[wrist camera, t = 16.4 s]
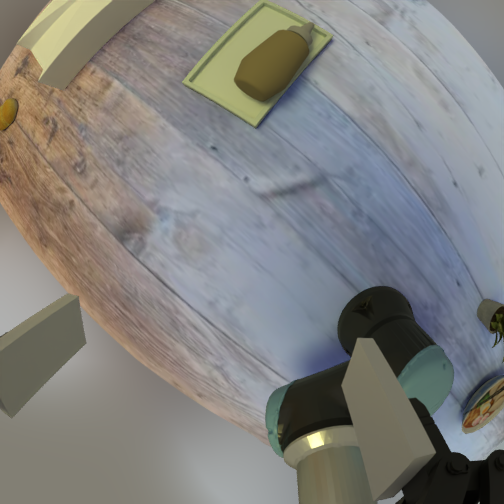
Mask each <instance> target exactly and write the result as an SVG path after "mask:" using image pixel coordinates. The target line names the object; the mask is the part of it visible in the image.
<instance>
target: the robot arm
mask: <svg viewBox="0 0 504 504" xmlns="http://www.w3.org/2000/svg"><path fill="white" fill-rule="evenodd" d="M337 331H338V337H339V340H340V343H341V345H342V347H343V349H344V350H345V352H346V353H347V354H348V355H349V356H351V360H349V361H346V362H344V363H341V364H339V365H336V366H334V367H331V368H329V369H326V370H324V371H321V372H318V373H315V374H313V375H310V376H307V377H304V378H301V379H297V380H294V381H292V382H291V383H290V384H287V385H285V386H282V387H280V388H278V389H276V390H275V391H274V392H273V393H272V394H271V396H270V397H269V400H268V402H267V406H266V415H265V421H266V428H267V429H268V431H269V432H268V438H269V442H270V444H271V446H272V448H273V450H274V451H275V453H276V454H277V455H279V456H280V457H282V458H284V461H285V462H286V464H288V465H289V466H290V467H292V468H294V469H296V470H297V482H298V495H299V504H378V502H377V501H378V500H383V499H387V498H391V497H394V496H395V495H396V494H397V493H398V492H399V491H400V490H402V491H403V494H404V496H403V497H402V498H401V499H400V500H399V501H398V502H396V503H395V504H478V502H479V501H480V504H504V450H495V451H494V452H492V453H491V454H490V455H489V456H488V457H487V459H486V460H480V461H469V459H468V458H467V457H466V456H464V455H463V454H461V453H456V452H451V451H450V449H449V447H448V445H447V444H446V442H445V440H444V438H443V436H442V434H441V433H440V431H439V429H438V427H437V425H436V424H434V423H435V422H434V420H433V418H432V417H430V416H432V415H433V414H434V413H435V412H436V411H437V410H438V409H439V407H440V406H441V405H442V404H443V402H444V400H445V399H446V397H447V396H448V394H449V392H450V390H451V387H452V384H453V380H454V369H453V365H452V363H451V362H450V360H449V359H448V357H447V356H446V355H445V353H444V350H443V349H442V348H441V347H440V346H438V345H437V344H436V343H435V342H434V341H433V339H432V338H431V337H430V336H429V335H428V334H427V333H426V332H425V331H424V330H423V329H422V328H421V327H420V326H419V325H418V324H417V323H416V322H415V318H414V316H413V312H412V308H411V306H410V304H409V302H408V300H407V299H406V298H405V297H404V296H403V295H402V294H401V293H400V292H399V291H397V290H395V289H393V288H390V287H385V286H379V287H373V288H370V289H367V290H365V291H363V292H361V293H359V294H358V295H356V296H355V297H354V298H353V299H352V300H351V301H350V302H349V303H348V304H347V305H346V307H345V308H344V310H343V311H342V313H341V315H340V318H339V321H338V328H337ZM85 344H86V339H85V333H84V328H83V322H82V317H81V310H80V303H79V296H76V295H72V294H66V295H64V296H63V297H61V298H60V299H58V300H56V301H55V302H53V303H52V304H50V305H48V306H47V307H46V308H44V309H42V310H41V311H39V312H37V313H36V314H34V315H33V316H31V317H30V318H28V319H27V320H25V321H24V322H22V323H21V324H19V325H18V326H16V327H15V328H14V329H12V330H11V331H9V332H7V333H5V334H4V335H2V336H1V337H0V409H1V410H2V411H3V412H4V413H5V414H7V415H8V416H9V417H10V418H13V417H14V416H15V415H16V414H17V413H18V411H19V410H20V409H21V408H22V407H23V406H24V405H25V404H26V403H27V402H28V401H29V400H30V399H31V398H32V397H33V396H34V395H35V394H36V392H38V390H39V389H40V388H41V387H42V386H43V385H44V384H45V383H46V382H47V381H48V380H49V379H50V378H51V377H52V376H53V375H54V374H55V373H56V372H57V371H58V370H59V369H60V368H61V367H62V366H63V365H64V364H65V363H66V362H67V361H68V360H70V358H72V356H74V355H75V354H76V353H77V352H78V351H79V350H80V349H81V348H82V347H83V346H84V345H85Z"/></svg>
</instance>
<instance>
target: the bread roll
mask: <svg viewBox="0 0 504 504" xmlns="http://www.w3.org/2000/svg"><path fill="white" fill-rule="evenodd" d="M17 109H18V104H17V101H16V100H15V99H13V98H10V99H7V100H6V101H5V103H4V104H3V105H2V106H1V107H0V130H4V129H6V128H7V127H8V126H9V125H10V124H11V123H12V122H13V121H14V119H15V116H16V113H17Z"/></svg>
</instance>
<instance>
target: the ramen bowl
mask: <svg viewBox="0 0 504 504" xmlns="http://www.w3.org/2000/svg"><path fill="white" fill-rule="evenodd" d="M503 407H504V375H500V376H496V377H494V378H492V379H490V380H488V381H487V382H486V383H485V384H483V385H482V386H481V387H480V388H479V389H478V390H477V391H476V392H475V393H474V395H473V396H472V398H471V399H470V400H469V402H468V404H467V406H466V408H465V410H464V413H463V419H462V431H463V432H464V433H465V434H467V433H472V432H475V431H477V430H478V429H480V428H482V427H483V426H485V425H486V424H487V423H489V422H490V421H491V420H492V419H493V418H494V417H495V416H496V415H497V414H498V413H499V412H500V411H501V410H502V409H503Z"/></svg>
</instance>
